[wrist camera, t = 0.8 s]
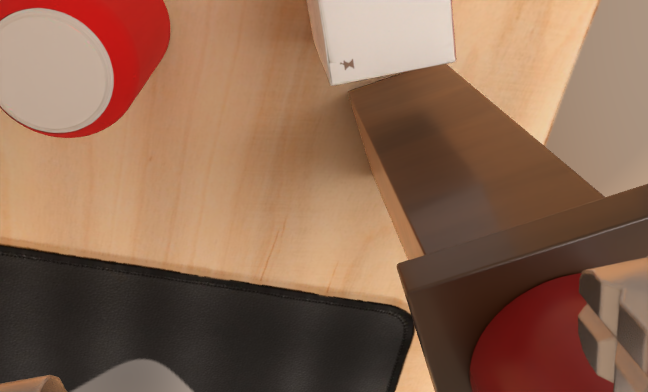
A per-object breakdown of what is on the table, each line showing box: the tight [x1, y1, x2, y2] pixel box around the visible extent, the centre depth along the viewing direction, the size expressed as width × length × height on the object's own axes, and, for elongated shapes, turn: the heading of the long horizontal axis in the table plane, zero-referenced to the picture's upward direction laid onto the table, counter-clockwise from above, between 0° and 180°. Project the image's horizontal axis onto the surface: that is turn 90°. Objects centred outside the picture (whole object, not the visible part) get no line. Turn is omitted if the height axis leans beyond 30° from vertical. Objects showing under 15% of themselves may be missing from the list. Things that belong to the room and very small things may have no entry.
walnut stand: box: [348, 64, 648, 392], centre depth 27 cm, size 8×8×22 cm
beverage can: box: [0, 0, 170, 138], centre depth 28 cm, size 6×6×12 cm
